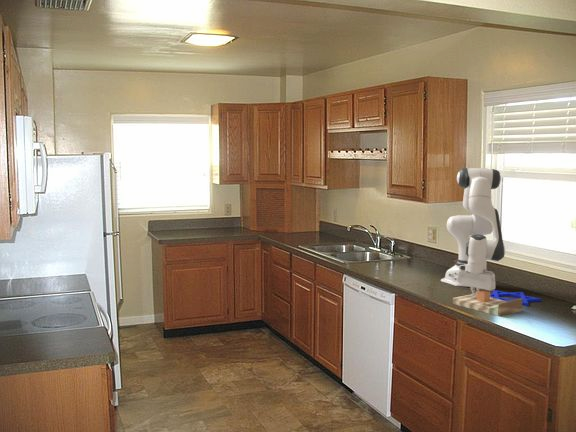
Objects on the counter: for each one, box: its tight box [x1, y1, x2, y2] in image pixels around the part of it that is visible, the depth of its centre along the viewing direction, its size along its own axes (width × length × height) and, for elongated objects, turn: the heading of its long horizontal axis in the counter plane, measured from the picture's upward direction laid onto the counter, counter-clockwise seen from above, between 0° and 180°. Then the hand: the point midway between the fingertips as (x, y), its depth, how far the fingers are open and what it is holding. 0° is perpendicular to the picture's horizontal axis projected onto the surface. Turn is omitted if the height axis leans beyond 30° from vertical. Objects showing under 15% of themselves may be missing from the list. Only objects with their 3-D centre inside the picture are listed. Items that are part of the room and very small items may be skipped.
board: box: [452, 293, 523, 317], centre depth 299 cm, size 27×17×6 cm, turn 36°
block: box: [476, 289, 491, 302], centre depth 301 cm, size 4×4×4 cm
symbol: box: [490, 289, 542, 307], centre depth 317 cm, size 26×2×30 cm
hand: (475, 296), depth 304 cm, fingers closed
